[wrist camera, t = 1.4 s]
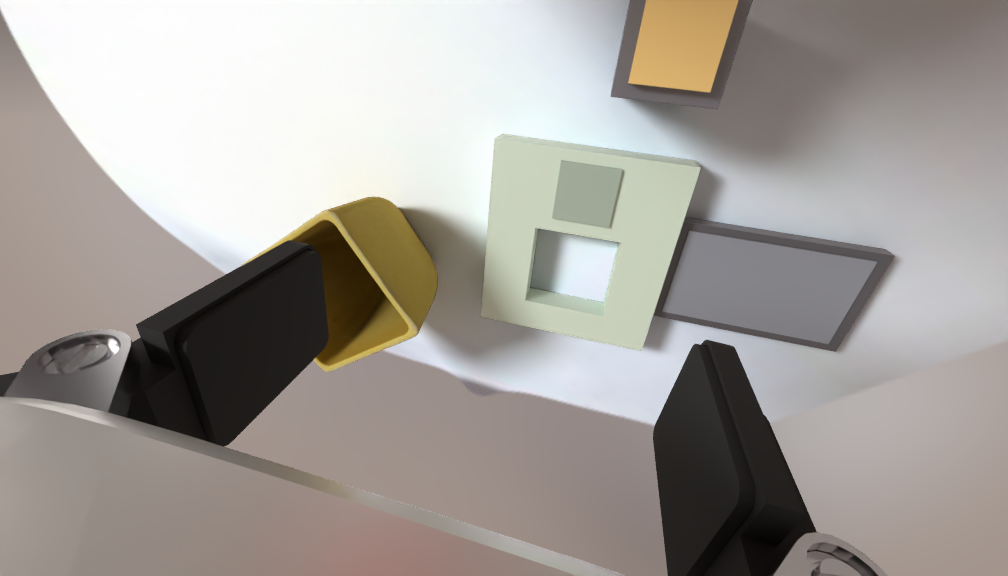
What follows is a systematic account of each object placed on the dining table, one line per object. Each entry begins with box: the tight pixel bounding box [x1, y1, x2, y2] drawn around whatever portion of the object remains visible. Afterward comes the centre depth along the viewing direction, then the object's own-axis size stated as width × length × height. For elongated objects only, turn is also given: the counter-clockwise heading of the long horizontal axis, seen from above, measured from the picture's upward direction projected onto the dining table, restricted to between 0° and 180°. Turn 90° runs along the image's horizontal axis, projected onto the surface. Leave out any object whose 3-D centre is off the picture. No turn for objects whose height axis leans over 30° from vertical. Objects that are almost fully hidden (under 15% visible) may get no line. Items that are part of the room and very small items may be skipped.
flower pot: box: [243, 197, 438, 372], centre depth 29 cm, size 9×9×9 cm
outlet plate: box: [481, 134, 701, 351], centre depth 28 cm, size 13×12×2 cm
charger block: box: [611, 0, 753, 109], centre depth 19 cm, size 4×4×8 cm
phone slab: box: [653, 217, 894, 352], centre depth 27 cm, size 7×12×1 cm, turn 84°
